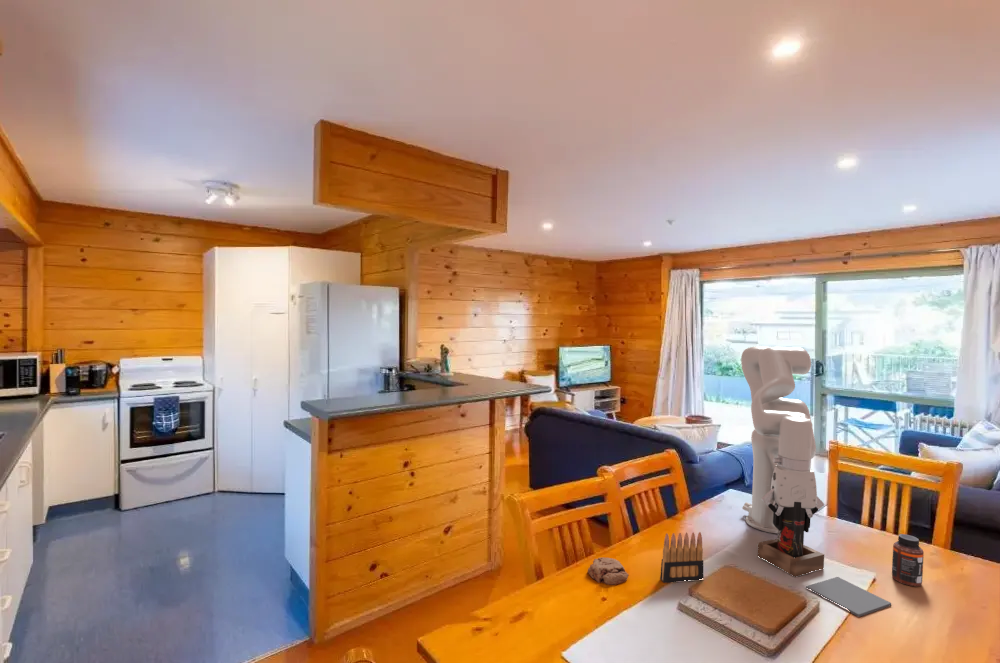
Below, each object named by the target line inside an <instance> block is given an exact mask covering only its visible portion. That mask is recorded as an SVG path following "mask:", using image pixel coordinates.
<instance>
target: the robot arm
mask: <svg viewBox="0 0 1000 663" xmlns="http://www.w3.org/2000/svg"><path fill="white" fill-rule="evenodd" d="M740 361H741V362H740V363H741V364H740V365H741V370H742V373H743V376H744V378H745V380H746V382H747V385H748V387H749V390H750V396H751V404H750V406H751V407H750V410H751V418H752V424H753V428H754V429H753V431H752V432H751V439H750V440H751V446H752V447H751V448H752V458H753V459H752V462H753V470H752V490H751V491H752V494H751V503H749V502H745V503H744V505H743V506H742V507H741V508H742V511H743V510H744V511H746V512H748V513H747V514H748V515H746V517H745V522H746V523H747V525H749V526H750V527H752V528H754V529H756V530H758V531H761V532H766V533H770V534H778V530H782V520H783V517H782V515H781V512H782V510H783V508H784V507H794V502H801V508H805V522H804V533H809V529H810V528H811V519H812V518H813V516H814V515H815V514H816V513H818V511H819V510H820V509H821V508H823V507H824V505H825V503H824V502H823V501H822V500H821V498H820V497H818V494H817V493H818V491H817V488H818V487H817V481H816V479H817V478H816V474H815V471H814V470H813V469H812V468H811V465H812V459H813V458H814V457H815V456H816V453H817V452H816V451H817V448H816V447H817V446H816V439H815V435H814V429H813V423H812V419H811V418H812V417H811V413H810V410H809V407H808V405H807V404H806V402H804V401H803V400H800V399H797V398H796V399H795V398H785V397H788V396H789V395H790V394H792V393H793V392H794V391H795V388H796V384H795V383H796V382H795V380H794V375H807V374H808V373H809V372H810V370H811V367H812V359H811V357H810V354H809V352H808V351H807V350H806V349H804V348H802V347H787V346H752V347H751V346H750V347H748V348H746V349H743V351H742V354H741V358H740Z"/></svg>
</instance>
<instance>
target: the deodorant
mask: <svg viewBox="0 0 1000 663" xmlns="http://www.w3.org/2000/svg"><path fill="white" fill-rule="evenodd" d="M781 515H782V517H783V520H782V530H778V533H777V538H778V546H777V550H779V551H781V552H783V553H785V554H787V555H789V556H791V557H793V558H796V557H800V556H803V545H804V542H805V540H804V539H805V531H804V522H805V508H801V502H794V507H784V508H783V510H782V512H781Z"/></svg>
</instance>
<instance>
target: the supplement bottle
mask: <svg viewBox="0 0 1000 663" xmlns="http://www.w3.org/2000/svg"><path fill="white" fill-rule="evenodd" d="M897 539H898V540H897V541H895V542H893V546H892V561H891V562H892V564H891V565H892V567H891V576H892V578H893V579H894V580H895V581H897V582H898V583H901V584H903V585H906V586H910V587H920V586H922V584H923V574H924V556H925V554H924V550H923V549H922V548H921V546H920V540H919V538H917V537H916V536H913V535H909V534H906V533H905V534H903V533H899V534H898V538H897Z"/></svg>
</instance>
